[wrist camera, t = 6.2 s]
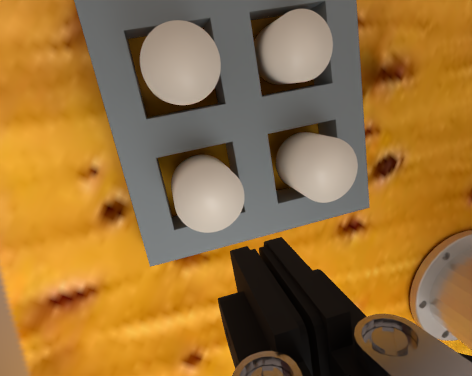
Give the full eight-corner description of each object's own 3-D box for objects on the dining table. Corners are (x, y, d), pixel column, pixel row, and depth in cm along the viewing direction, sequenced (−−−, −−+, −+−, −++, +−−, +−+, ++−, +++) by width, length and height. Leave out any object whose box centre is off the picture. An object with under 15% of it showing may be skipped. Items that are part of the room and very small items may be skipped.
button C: (202, 29, 22) (212, 14, 18) (215, 97, 23) (227, 97, 19) (134, 39, 21) (130, 26, 17) (152, 110, 22) (151, 111, 19)
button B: (325, 126, 25) (355, 131, 22) (331, 181, 27) (359, 194, 23) (271, 138, 25) (292, 145, 21) (279, 193, 26) (300, 209, 22)
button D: (225, 148, 24) (238, 157, 20) (235, 204, 25) (249, 222, 22) (164, 161, 23) (166, 173, 20) (178, 219, 25) (182, 240, 21)
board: (331, -26, 25) (353, -43, 22) (349, 197, 30) (369, 207, 27) (83, 6, 22) (72, -7, 19) (150, 249, 27) (150, 266, 24)
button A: (303, 18, 25) (329, 4, 21) (309, 79, 26) (335, 75, 22) (247, 27, 24) (264, 13, 20) (256, 89, 25) (274, 87, 22)
